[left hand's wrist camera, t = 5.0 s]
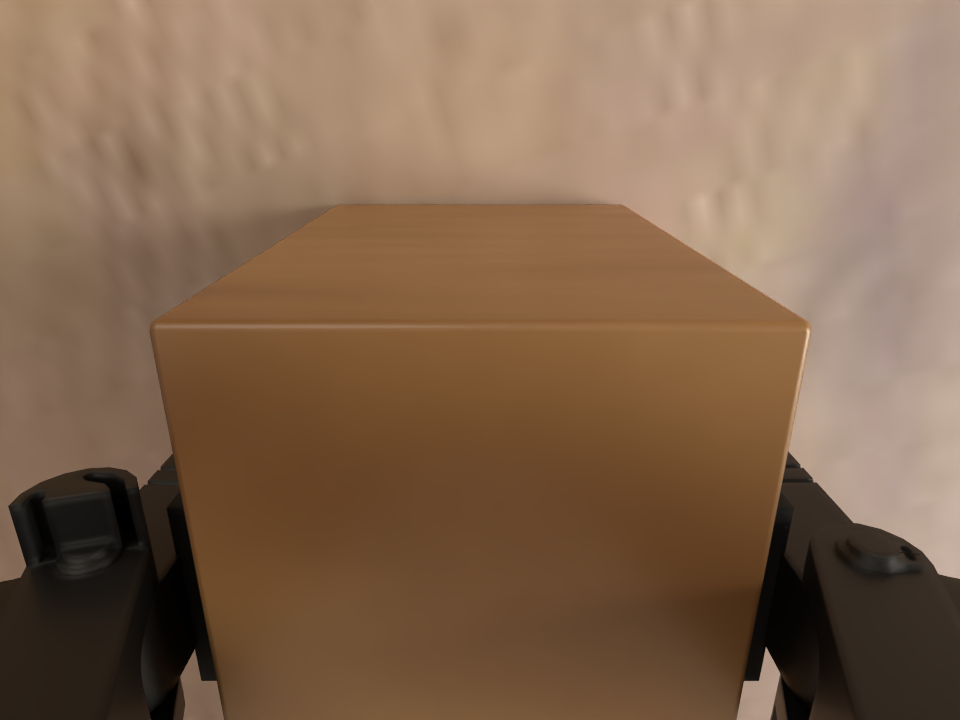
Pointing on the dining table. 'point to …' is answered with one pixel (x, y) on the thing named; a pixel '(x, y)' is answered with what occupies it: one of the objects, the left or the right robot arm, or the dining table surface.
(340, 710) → the beam
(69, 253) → the dining table surface
